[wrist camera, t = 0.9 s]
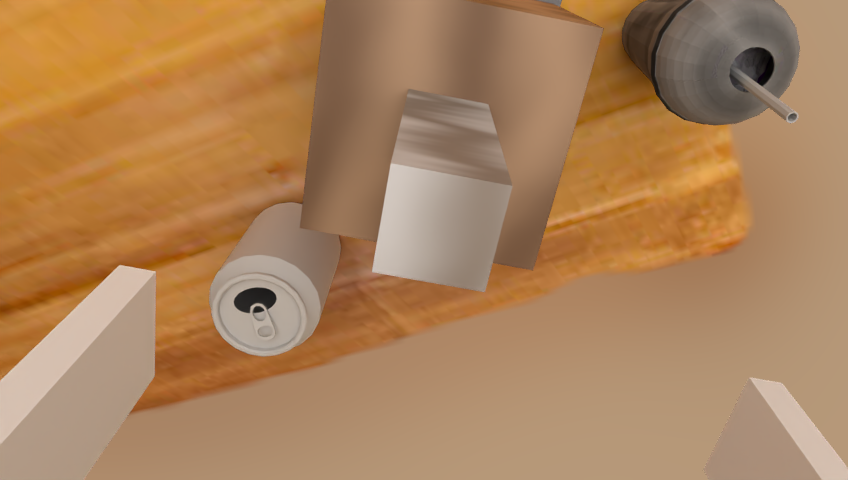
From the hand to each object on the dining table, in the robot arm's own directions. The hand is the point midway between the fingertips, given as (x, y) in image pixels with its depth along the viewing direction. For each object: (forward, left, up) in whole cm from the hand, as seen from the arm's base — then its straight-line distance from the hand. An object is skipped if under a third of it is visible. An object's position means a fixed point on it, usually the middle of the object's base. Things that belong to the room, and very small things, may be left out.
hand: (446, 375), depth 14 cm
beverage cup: (+14, +6, -36) cm, 39 cm away
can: (-9, -15, -36) cm, 40 cm away
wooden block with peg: (0, 0, -35) cm, 35 cm away
